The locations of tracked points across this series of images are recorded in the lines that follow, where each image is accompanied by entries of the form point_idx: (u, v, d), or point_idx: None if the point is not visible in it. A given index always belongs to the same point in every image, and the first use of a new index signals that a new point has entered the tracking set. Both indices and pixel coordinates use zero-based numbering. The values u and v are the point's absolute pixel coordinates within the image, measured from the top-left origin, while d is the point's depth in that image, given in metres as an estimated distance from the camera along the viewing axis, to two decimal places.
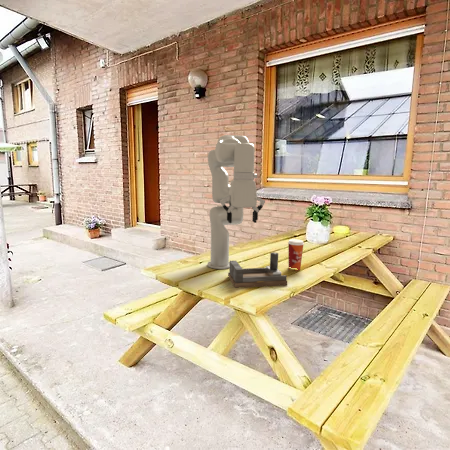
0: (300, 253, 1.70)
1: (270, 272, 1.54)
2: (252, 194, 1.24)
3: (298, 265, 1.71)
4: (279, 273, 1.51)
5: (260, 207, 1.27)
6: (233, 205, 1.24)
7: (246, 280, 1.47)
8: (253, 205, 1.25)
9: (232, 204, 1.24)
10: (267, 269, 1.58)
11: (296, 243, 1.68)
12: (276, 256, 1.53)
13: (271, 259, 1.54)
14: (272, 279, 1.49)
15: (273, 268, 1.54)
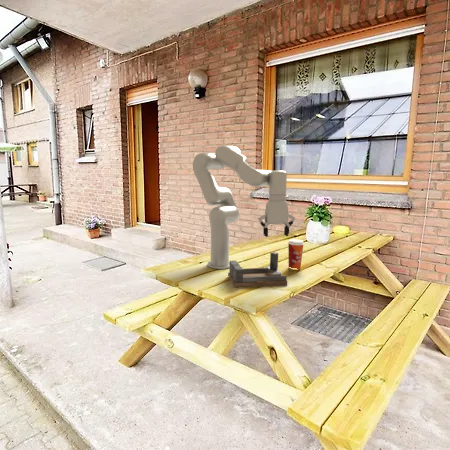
0: (300, 253, 1.70)
1: (270, 272, 1.54)
2: (285, 212, 1.49)
3: (298, 265, 1.71)
4: (279, 273, 1.51)
5: (291, 223, 1.52)
6: (269, 222, 1.49)
7: (246, 280, 1.47)
8: (285, 221, 1.50)
9: (268, 221, 1.49)
10: (267, 269, 1.58)
11: (296, 243, 1.68)
12: (276, 256, 1.53)
13: (271, 259, 1.54)
14: (272, 279, 1.49)
15: (273, 268, 1.54)
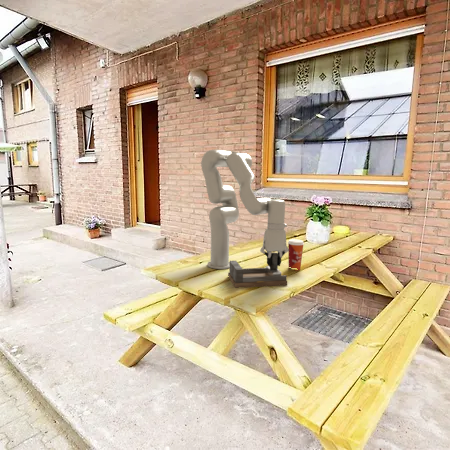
0: (300, 253, 1.70)
1: (270, 272, 1.54)
2: (283, 241, 1.51)
3: (298, 265, 1.71)
4: (279, 273, 1.51)
5: (283, 253, 1.54)
6: (267, 250, 1.51)
7: (246, 280, 1.47)
8: (283, 249, 1.53)
9: (266, 249, 1.51)
10: (267, 269, 1.58)
11: (296, 243, 1.68)
12: (276, 256, 1.53)
13: None
14: (272, 279, 1.49)
15: (273, 268, 1.54)
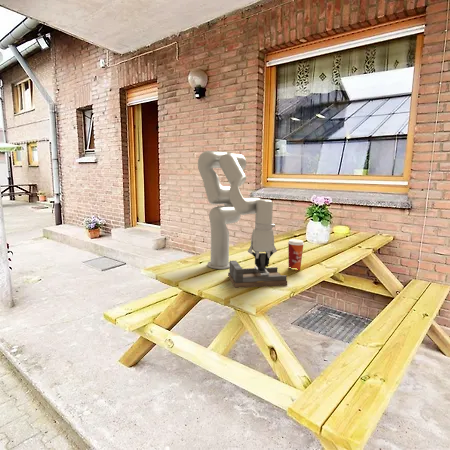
0: (300, 253, 1.70)
1: (258, 273, 1.53)
2: (270, 241, 1.50)
3: (298, 265, 1.71)
4: (267, 274, 1.50)
5: (271, 253, 1.53)
6: (255, 250, 1.50)
7: (246, 280, 1.47)
8: (271, 250, 1.52)
9: (254, 249, 1.50)
10: (255, 270, 1.57)
11: (296, 243, 1.68)
12: (264, 256, 1.52)
13: (259, 259, 1.53)
14: (272, 279, 1.49)
15: (261, 269, 1.53)
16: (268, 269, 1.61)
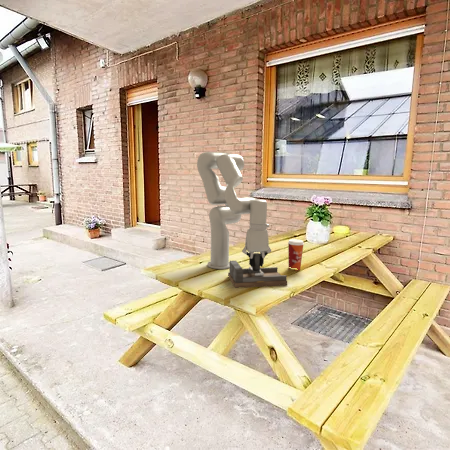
0: (300, 253, 1.70)
1: (252, 273, 1.52)
2: (265, 241, 1.50)
3: (298, 265, 1.71)
4: (261, 274, 1.49)
5: (265, 254, 1.53)
6: (249, 250, 1.49)
7: (246, 280, 1.47)
8: (265, 250, 1.51)
9: (248, 249, 1.49)
10: (250, 270, 1.56)
11: (296, 243, 1.68)
12: (258, 257, 1.51)
13: None
14: (272, 279, 1.49)
15: (255, 269, 1.52)
16: (268, 269, 1.61)
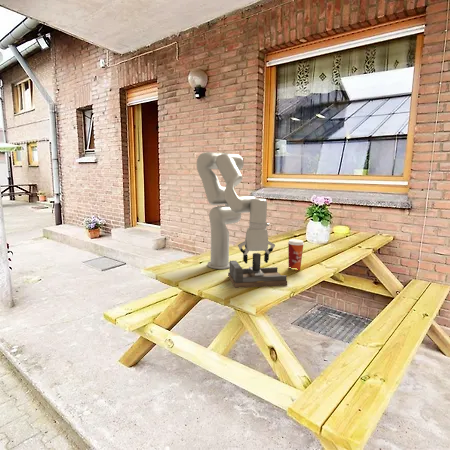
0: (300, 253, 1.70)
1: (252, 273, 1.52)
2: (264, 240, 1.50)
3: (298, 265, 1.71)
4: (261, 274, 1.49)
5: (271, 250, 1.53)
6: (249, 249, 1.50)
7: (246, 280, 1.47)
8: (265, 249, 1.51)
9: (248, 248, 1.49)
10: (250, 270, 1.56)
11: (296, 243, 1.68)
12: (258, 257, 1.51)
13: (253, 260, 1.52)
14: (272, 279, 1.49)
15: (255, 269, 1.52)
16: (268, 269, 1.61)
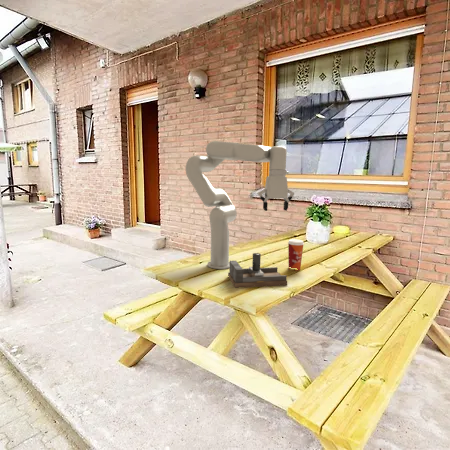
0: (300, 253, 1.70)
1: (252, 273, 1.52)
2: (284, 187, 1.54)
3: (298, 265, 1.71)
4: (261, 274, 1.49)
5: (290, 198, 1.56)
6: (269, 196, 1.53)
7: (246, 280, 1.47)
8: (285, 196, 1.55)
9: (268, 195, 1.53)
10: (250, 270, 1.56)
11: (296, 243, 1.68)
12: (258, 257, 1.51)
13: (253, 260, 1.52)
14: (272, 279, 1.49)
15: (255, 269, 1.52)
16: (268, 269, 1.61)
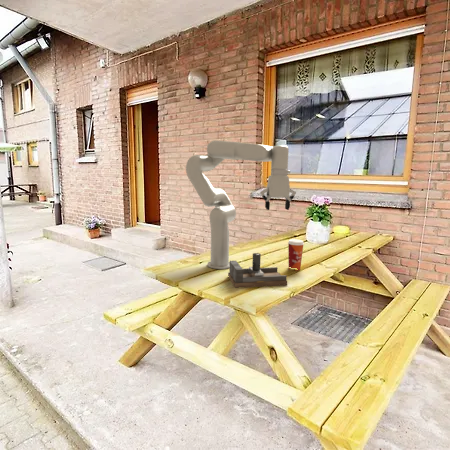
0: (300, 253, 1.70)
1: (252, 273, 1.52)
2: (286, 186, 1.55)
3: (298, 265, 1.71)
4: (261, 274, 1.49)
5: (292, 197, 1.58)
6: (271, 195, 1.54)
7: (246, 280, 1.47)
8: (287, 195, 1.56)
9: (270, 194, 1.54)
10: (250, 270, 1.56)
11: (296, 243, 1.68)
12: (258, 257, 1.51)
13: (253, 260, 1.52)
14: (272, 279, 1.49)
15: (255, 269, 1.52)
16: (268, 269, 1.61)
